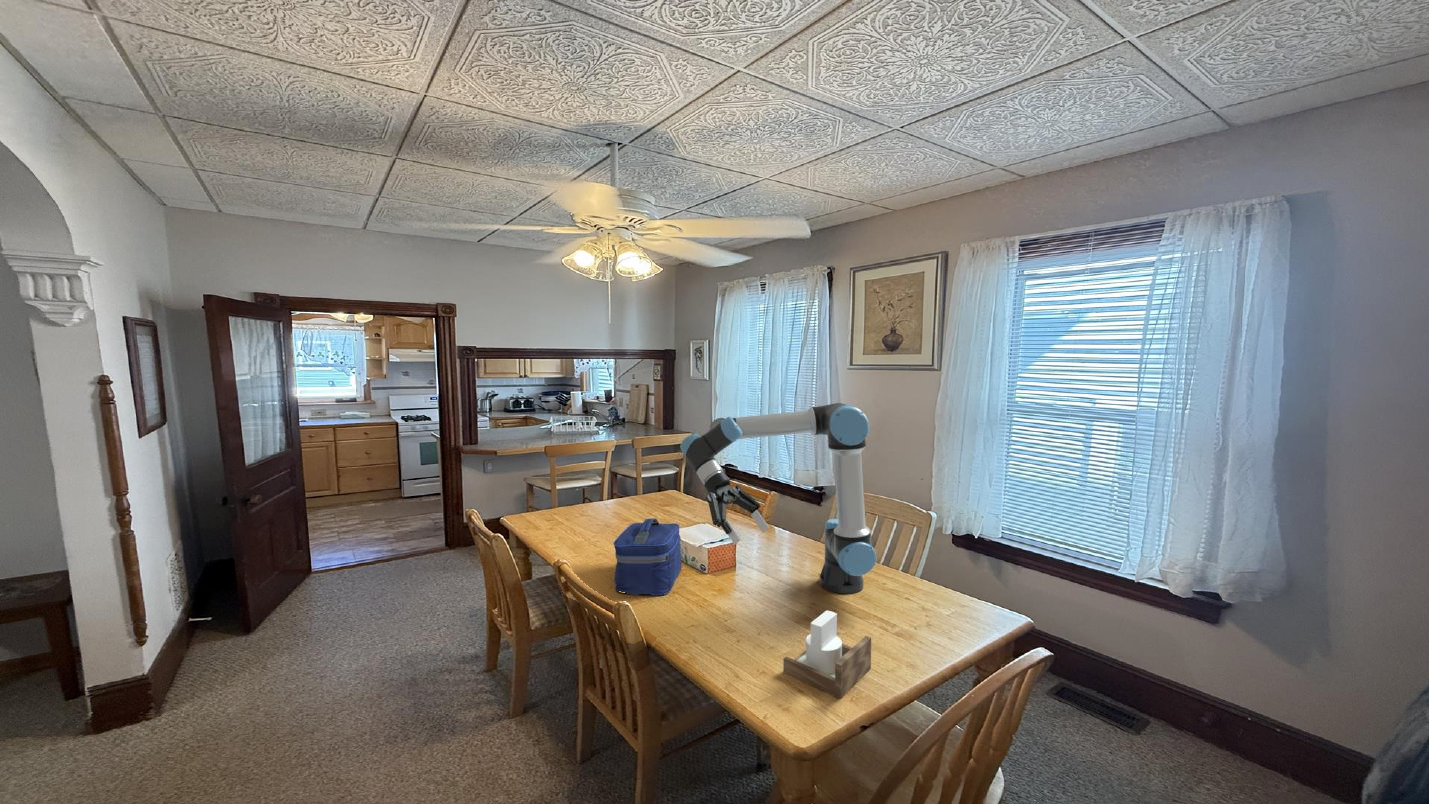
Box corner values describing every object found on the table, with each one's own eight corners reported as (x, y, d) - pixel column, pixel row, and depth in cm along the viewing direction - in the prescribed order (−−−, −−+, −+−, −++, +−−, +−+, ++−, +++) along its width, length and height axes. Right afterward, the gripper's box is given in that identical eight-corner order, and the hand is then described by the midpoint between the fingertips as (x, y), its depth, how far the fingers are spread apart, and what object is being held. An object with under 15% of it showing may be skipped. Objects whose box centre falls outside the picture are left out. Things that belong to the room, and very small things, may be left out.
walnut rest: (816, 646, 144) (816, 617, 144) (870, 668, 134) (871, 637, 133) (783, 672, 132) (783, 641, 132) (840, 698, 122) (841, 665, 121)
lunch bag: (633, 561, 207) (632, 510, 206) (685, 563, 205) (685, 511, 204) (610, 596, 177) (608, 536, 175) (671, 598, 175) (670, 538, 173)
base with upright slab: (816, 649, 140) (816, 606, 139) (847, 661, 134) (848, 616, 133) (799, 665, 133) (799, 619, 132) (831, 678, 127) (832, 631, 126)
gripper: (732, 478, 173) (769, 532, 164) (679, 493, 154) (717, 554, 146) (745, 464, 169) (784, 519, 160) (691, 477, 150) (732, 540, 142)
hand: (752, 536), depth 153 cm, fingers open, 13 cm apart
